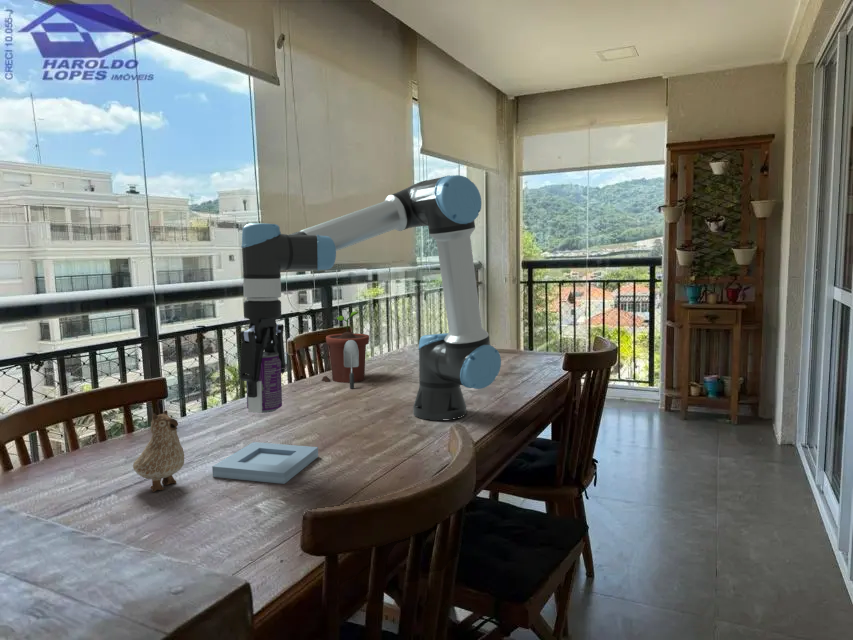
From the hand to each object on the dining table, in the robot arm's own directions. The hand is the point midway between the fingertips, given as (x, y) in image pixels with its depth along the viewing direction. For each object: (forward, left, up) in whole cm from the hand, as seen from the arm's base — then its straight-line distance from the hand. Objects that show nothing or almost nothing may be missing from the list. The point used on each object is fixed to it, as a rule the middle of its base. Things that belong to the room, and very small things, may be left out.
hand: (264, 407), depth 122 cm
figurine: (+15, +15, -13) cm, 25 cm away
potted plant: (+15, -84, -13) cm, 87 cm away
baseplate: (0, 0, -13) cm, 13 cm away
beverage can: (0, 0, -1) cm, 1 cm away
